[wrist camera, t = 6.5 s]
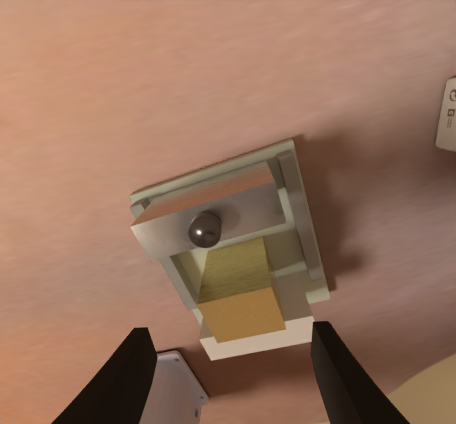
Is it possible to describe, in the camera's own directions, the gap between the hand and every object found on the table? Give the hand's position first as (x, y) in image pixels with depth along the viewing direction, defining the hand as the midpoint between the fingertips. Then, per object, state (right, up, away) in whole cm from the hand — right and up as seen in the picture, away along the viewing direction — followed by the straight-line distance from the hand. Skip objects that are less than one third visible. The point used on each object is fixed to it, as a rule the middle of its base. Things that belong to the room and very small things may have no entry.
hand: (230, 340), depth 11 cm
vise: (+1, +3, +9) cm, 10 cm away
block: (+1, +2, +9) cm, 9 cm away
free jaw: (-1, +7, +6) cm, 9 cm away
